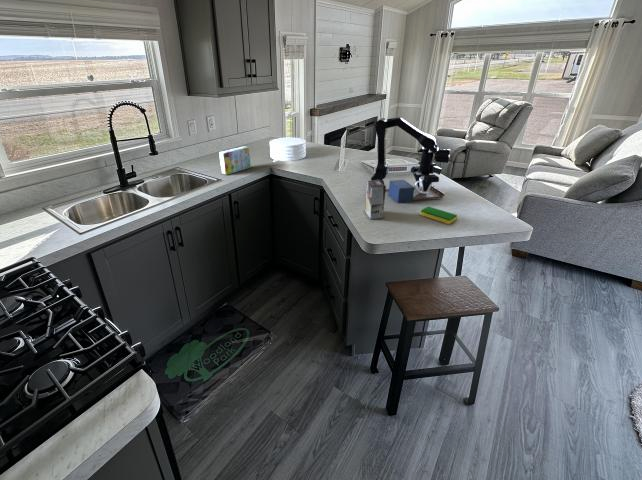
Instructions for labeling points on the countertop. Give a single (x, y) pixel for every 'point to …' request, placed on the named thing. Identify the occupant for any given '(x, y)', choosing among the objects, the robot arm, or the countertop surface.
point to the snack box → (234, 160)
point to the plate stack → (287, 149)
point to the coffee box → (375, 199)
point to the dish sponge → (438, 215)
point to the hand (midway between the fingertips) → (422, 189)
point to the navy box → (411, 192)
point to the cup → (422, 186)
